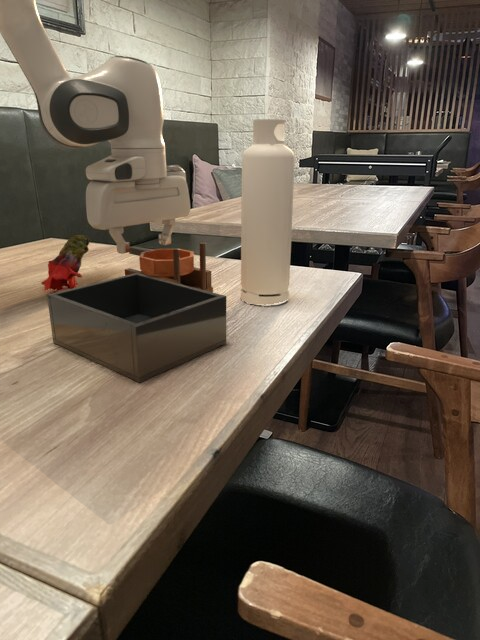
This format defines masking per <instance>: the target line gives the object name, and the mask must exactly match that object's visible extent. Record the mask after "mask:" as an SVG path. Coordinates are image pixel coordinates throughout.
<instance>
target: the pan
mask: <svg viewBox="0 0 480 640" xmlns="http://www.w3.org/2000/svg"><path fill="white" fill-rule="evenodd" d="M129 248H130V252H128V254H130V255H132V256H138V259H139V271H141V272H142V273H143V274H146V275H149V276H156V277H174V265H173V249H174V248H156V249H155V248H154V249H150V248H146V247H141V246H136V245H133V246H130V247H129ZM194 254H195V253H194V251H193V250H188V249H183V248H179V256H180V276H182V275H186V274H189V273H191V272H193V271H194V267H195V257H194V256H195V255H194Z"/></svg>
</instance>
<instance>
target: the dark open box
mask: <svg viewBox="0 0 480 640" xmlns="http://www.w3.org/2000/svg"><path fill="white" fill-rule="evenodd" d="M46 299H47V306H48V313H49V322H50V329H51V336H52V337H51V338H52V343H53V344H56V345H58V346H60V347H63V348H64V349H67V351H68V350H69V351H70V352H73V353H75V354H78V355H79V356H81V357H84V358H86V359H87V360H90V361H92V362H95V363H97V364H98V363H99V364H98V365H100V366H103V367H105V368H107V369H109V370H112V371H113V372H116V373H118V374H120V375H122V376H124V377H126V378H129V379H131V380H133V381H135V382H137V383H143V382H144V381H147V380H149V379H151V378H153V377H155V376H158V375H160V374H162V373H164V372H166V371H169V370H171V369H173V368H175V367H177V366H180V365H182V364H184V363H186V362H188V361H191V360H193V359H196V358H198V357H200V356H202V355H204V354H207V353H209V352H211V351H213V350H215V349H217V348H216V347H218V348H220V347H221V346H220V345H222V346H224V345H226V344H227V295H224V294H220V293H216V292H214V291H213V292H209V291H205V290H201V289H197V288H194V287H190V286H186V285H182V284H178V283H174V282H171V281H167V280H163V279H159V278H155V277H152V276H148V275H144V274H140V273H134V274H130V275H126V276H125V275H122V276H118V277H114V278H110V279H106V280H102V281H98V282H94V283H89V284H85V285H81V286H76V287H75V288H72V289H69V288H67V289H63V290H59V291H56V292H51V293H48V294H46ZM225 343H226V344H225ZM223 344H224V345H223ZM219 346H220V347H219ZM212 349H213V350H212ZM210 350H211V351H210ZM208 351H209V352H208ZM206 352H207V353H206ZM203 353H204V354H203Z"/></svg>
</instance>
